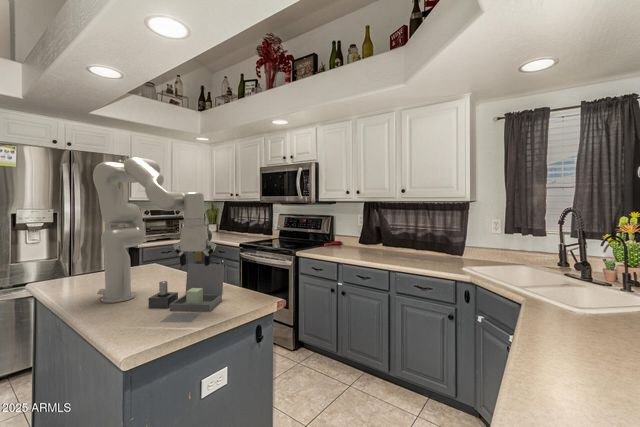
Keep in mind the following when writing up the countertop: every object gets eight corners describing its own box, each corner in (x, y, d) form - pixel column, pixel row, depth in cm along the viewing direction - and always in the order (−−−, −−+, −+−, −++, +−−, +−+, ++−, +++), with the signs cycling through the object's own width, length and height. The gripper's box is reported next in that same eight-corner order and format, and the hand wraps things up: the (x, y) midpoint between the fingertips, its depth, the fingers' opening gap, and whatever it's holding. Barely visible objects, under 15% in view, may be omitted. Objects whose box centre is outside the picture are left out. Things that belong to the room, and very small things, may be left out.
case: (169, 311, 120) (169, 304, 120) (185, 301, 133) (185, 294, 133) (209, 312, 119) (209, 305, 119) (221, 301, 132) (221, 294, 132)
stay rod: (158, 307, 125) (157, 282, 125) (162, 304, 128) (161, 280, 128) (165, 307, 125) (164, 282, 125) (169, 304, 128) (168, 281, 128)
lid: (187, 263, 134) (188, 263, 135) (185, 294, 133) (186, 294, 133) (223, 264, 134) (224, 264, 135) (221, 294, 132) (222, 294, 133)
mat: (160, 323, 109) (160, 321, 109) (173, 313, 118) (173, 312, 118) (190, 323, 108) (190, 322, 108) (201, 314, 117) (201, 313, 117)
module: (186, 309, 122) (186, 291, 121) (192, 304, 127) (192, 288, 126) (197, 309, 121) (197, 291, 121) (202, 305, 126) (202, 288, 126)
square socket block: (148, 309, 123) (148, 297, 123) (159, 302, 131) (159, 292, 131) (168, 309, 122) (167, 298, 122) (178, 302, 130) (178, 292, 130)
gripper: (168, 223, 119) (169, 267, 120) (211, 223, 119) (212, 267, 119) (177, 222, 127) (178, 263, 127) (219, 222, 126) (219, 263, 127)
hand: (195, 265), depth 123 cm, fingers open, 9 cm apart
